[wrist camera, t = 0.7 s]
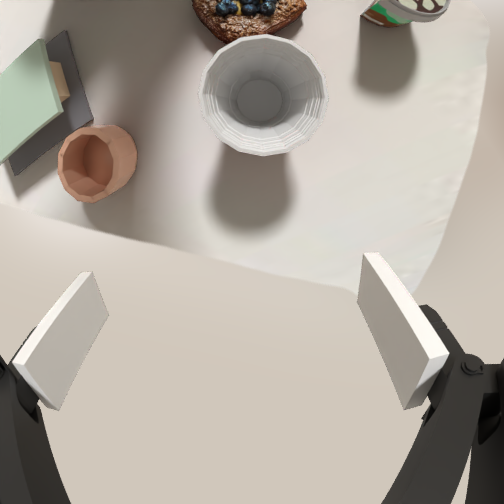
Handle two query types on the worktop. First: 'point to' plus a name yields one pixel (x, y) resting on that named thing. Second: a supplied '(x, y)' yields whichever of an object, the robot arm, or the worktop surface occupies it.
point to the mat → (71, 103)
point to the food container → (404, 11)
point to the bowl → (96, 162)
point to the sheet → (26, 98)
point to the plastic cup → (263, 95)
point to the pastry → (246, 16)
